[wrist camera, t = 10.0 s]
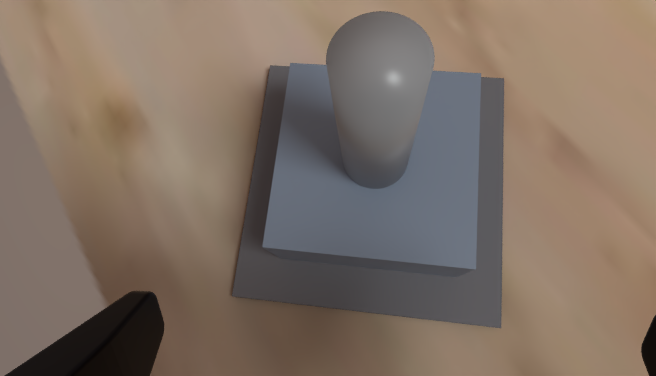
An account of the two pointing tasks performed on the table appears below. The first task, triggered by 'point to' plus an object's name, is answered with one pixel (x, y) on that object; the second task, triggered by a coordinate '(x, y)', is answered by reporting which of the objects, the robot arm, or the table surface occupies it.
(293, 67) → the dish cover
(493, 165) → the rubber mat
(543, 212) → the table surface
